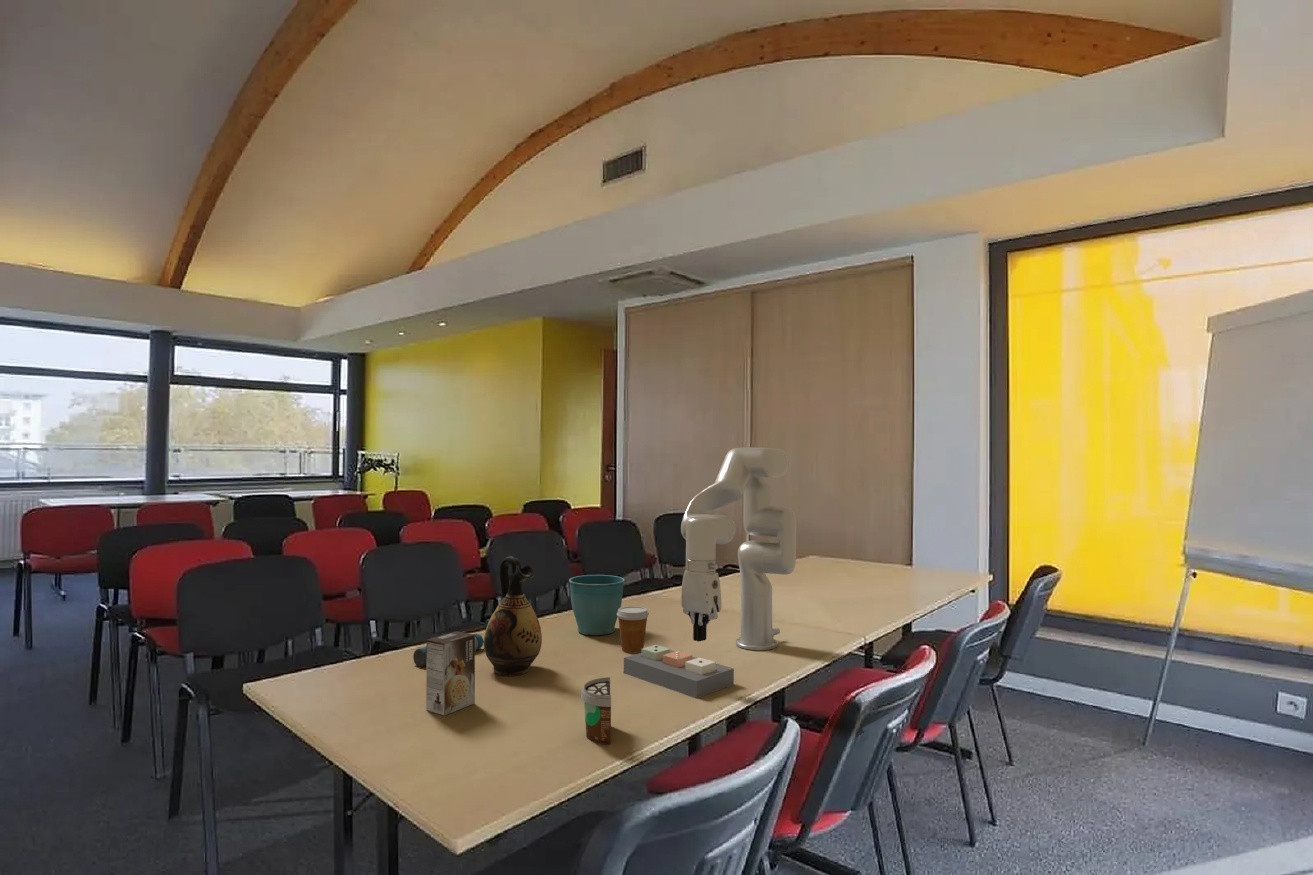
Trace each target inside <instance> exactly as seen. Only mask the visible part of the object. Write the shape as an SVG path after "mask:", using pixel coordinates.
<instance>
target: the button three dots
mask: <svg viewBox="0 0 1313 875" xmlns="http://www.w3.org/2000/svg"><path fill="white" fill-rule="evenodd" d="M674 651H675V650H674ZM692 657H693V655H692V654H690V653H689V654H688V653H687V652H683V651H679V650H676V651H675V652H672V653H668V654H665V655H663V664H666V665H669V666H673V667H676V668H680V667H683V666H685V662H687V661H690V660H692Z"/></svg>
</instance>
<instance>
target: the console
mask: <svg viewBox="0 0 1313 875" xmlns="http://www.w3.org/2000/svg"><path fill="white" fill-rule="evenodd" d="M672 652H675V650H671V649H670V653H672ZM696 658H697V657H695V656H692V660H693V659H696ZM734 669H735V668H733V667H729V666H726V665H722V664H718V663H716V671H713V672H710V673H707V674H704V675H698V674H695V673H692V672H689V671H685V666H683V667H680V668H676V667H673V666H669V665H666V664H663V659H661V660H658V661H654V660H650V659H647V658H644V657H642V652H638V653H635V654H632V655H628V656H625V657H623V674H625V675H628V676H632V677H634V678H637V679H640V680H643V681H646V682H648V683H652V684H655V685H658V686H660V687H662V688H663V687H664V688H666V689H669V690H672V691H675V692H678V693H681V694H683V695H686V696H689V697H693V698H695V699H697V698H701V697H703V696H706V695H708V694H713V692H717V691H720V690H722V689H726V688H729V687H731V686H733V685H734V684H735V677H734V676H735V674H734V673H735V672H734V671H735V670H734Z"/></svg>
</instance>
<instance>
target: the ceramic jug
mask: <svg viewBox="0 0 1313 875" xmlns="http://www.w3.org/2000/svg"><path fill="white" fill-rule="evenodd" d="M510 566H511V572H510V573H509V569H510ZM534 576H535V574H534V569H533V568H532V567H531V565H529V564H526V565H525V566H523V567H522V564H521V562H520V560H519V559H518V558H516V557H514V556H512V555H511V556H506V557H505V558H503V560H502V561H501V563H500V566H499V581H500V588H501V596H502V597H501V600H500V603H499V604H497V607H496V609H495V610H494V612H493V613H492V615H491V617H490V619H489V621H488V623H487V625H486V628H485V632H484V638H483V641H484V642H483V651H484V653H485V656H486V657H487V660H488V661H489V662H490V663H491V664H492V666H493V668H492V669H493V672H494V673H495V674H496V675H499V676H501V677H506V676H507V677H508V676H513V677H515V676H522V675H523V674H526V673H528V672H529V671H530V670H529V668H530V666H531V665H532V664H533V662H534V661H535V660H536V659H537V657H538V656H539V655H540V653H541V649H542V643H543V641H542V640H543V635H542V634H543V633H542V629H541V625H540V624H541V623H540V622H539V619H538V618H539V617H538V616H537V614H536V612H535V610H534V608H533V607H532V605H531V603H530V601H529V600H528V598H527V597H526V595H525V593H524V592H523V583H524V582H526V581H528V580H530V579H533V578H534Z"/></svg>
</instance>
